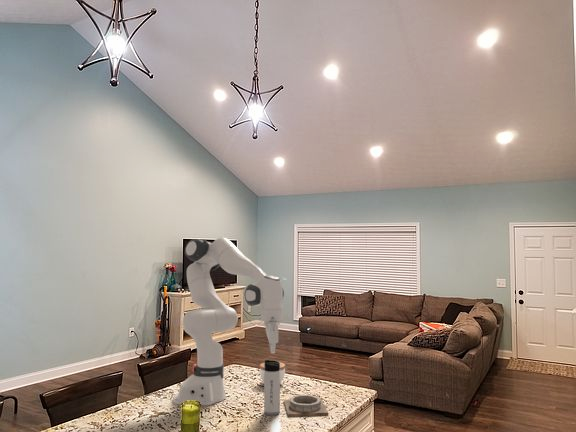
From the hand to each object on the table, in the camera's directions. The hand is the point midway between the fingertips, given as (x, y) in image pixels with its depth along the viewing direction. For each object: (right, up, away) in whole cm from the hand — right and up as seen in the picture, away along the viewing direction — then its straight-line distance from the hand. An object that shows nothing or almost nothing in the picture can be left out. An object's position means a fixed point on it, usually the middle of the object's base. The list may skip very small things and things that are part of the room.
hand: (272, 350), depth 172 cm
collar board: (+13, -25, +2) cm, 28 cm away
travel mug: (0, -24, -2) cm, 24 cm away
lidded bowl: (-1, -28, +36) cm, 45 cm away
